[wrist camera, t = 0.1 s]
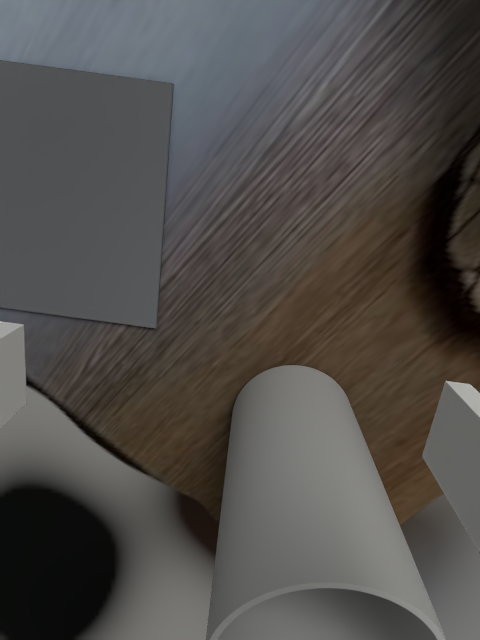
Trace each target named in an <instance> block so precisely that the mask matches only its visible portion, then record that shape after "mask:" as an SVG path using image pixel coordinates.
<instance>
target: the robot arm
mask: <svg viewBox="0 0 480 640" xmlns="http://www.w3.org/2000/svg"><path fill="white" fill-rule="evenodd" d="M26 403H27V397H26V371H25V345H24V325H23V324H16V323H8V322H1V321H0V428H1V427H2V426H3V425H4V424H5V423H6V422H7V421H8V420H9V419H10V418H11V417H13V416H14V415H15V413H17V412H18V411H19V410H20V409H21V408H22V407H23V406H24V405H25V404H26ZM422 457H423V458H424V460H425V462H426V464H427V465H428V467H429V469H430V470H431V472H432V474H433V475H434V477H435V479H436V480H437V482H438V484H439V485H440V487H441V489H442V490H443V492H444V494H445V495H446V497H447V499H448V501H449V502H450V504H451V506H452V507H453V509H454V511H455V512H456V514H457V516H458V517H459V519H460V521H461V522H462V524H463V526H464V528H465V529H466V530H467V532H468V534H469V536H470V538H471V539H472V541H473V543H474V544H475V546H476V548H477V549H478V551H479V553H480V393H479V392H478V391H477V390H476V389H475V388H473V387H472V386H471V385H470V384H464V383H456V382H449V381H445V384H444V388H443V391H442V394H441V397H440V400H439V404H438V407H437V410H436V413H435V416H434V420H433V423H432V426H431V429H430V432H429V436H428V439H427V442H426V445H425V449H424V452H423V455H422Z"/></svg>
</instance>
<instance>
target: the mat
mask: <svg viewBox="0 0 480 640" xmlns="http://www.w3.org/2000/svg"><path fill="white" fill-rule="evenodd" d="M173 86H174V84H173V83H166V82H159V81H151V80H144V79H136V78H129V77H121V76H114V75H106V74H99V73H92V72H84V71H77V70H69V69H62V68H54V67H47V66H39V65H32V64H24V63H17V62H9V61H2V60H0V307H1V308H8V309H16V310H23V311H31V312H38V313H45V314H53V315H60V316H68V317H75V318H82V319H90V320H97V321H105V322H112V323H119V324H127V325H134V326H142V327H149V328H157V319H158V305H159V290H160V276H161V261H162V246H163V232H164V217H165V203H166V188H167V173H168V159H169V144H170V130H171V115H172V100H173Z"/></svg>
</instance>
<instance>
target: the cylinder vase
mask: <svg viewBox="0 0 480 640" xmlns="http://www.w3.org/2000/svg"><path fill="white" fill-rule="evenodd" d="M206 640H446V638H445V636H444V633H443V631H442V629H441V626H440V624H439V621H438V619H437V616H436V614H435V611H434V609H433V607H432V604H431V602H430V599H429V597H428V594H427V592H426V589H425V587H424V584H423V582H422V579H421V577H420V575H419V572H418V570H417V567H416V565H415V562H414V560H413V557H412V555H411V553H410V550H409V548H408V545H407V543H406V540H405V538H404V536H403V533H402V530H401V528H400V526H399V523H398V521H397V518H396V516H395V513H394V511H393V508H392V506H391V504H390V501H389V499H388V496H387V494H386V491H385V489H384V486H383V484H382V481H381V479H380V477H379V474H378V472H377V469H376V467H375V464H374V462H373V459H372V457H371V455H370V452H369V450H368V447H367V445H366V442H365V440H364V437H363V435H362V432H361V430H360V428H359V425H358V423H357V420H356V418H355V415H354V413H353V410H352V408H351V406H350V403H349V401H348V398H347V396H346V394H345V393H344V391H343V390H342V388H341V387H340V386H339V385H338V384H337V383H336V382H335V381H334V380H333V379H332V378H330V377H329V376H328V375H326V374H324V373H323V372H321V371H318V370H316V369H313V368H310V367H306V366H299V365H285V366H279V367H275V368H271V369H269V370H266V371H264V372H262V373H260V374H258V375H257V376H255V377H254V378H253V379H251V380H250V381H249V382H248V383H247V384H246V385H245V386H244V387H243V389H242V390H241V392H240V393H239V395H238V397H237V399H236V401H235V404H234V407H233V412H232V421H231V430H230V438H229V447H228V455H227V464H226V472H225V481H224V489H223V498H222V507H221V515H220V524H219V532H218V541H217V549H216V558H215V566H214V575H213V584H212V592H211V602H210V609H209V618H208V626H207V635H206Z"/></svg>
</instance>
